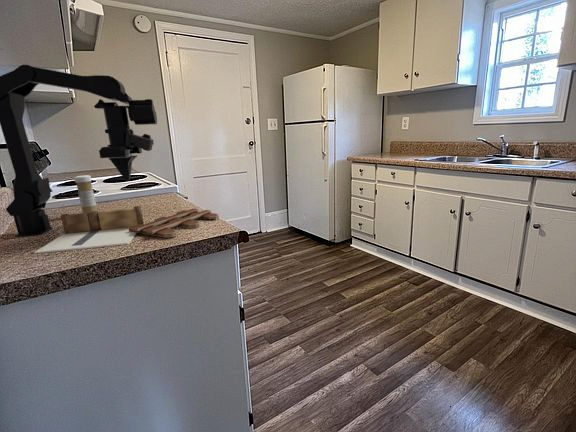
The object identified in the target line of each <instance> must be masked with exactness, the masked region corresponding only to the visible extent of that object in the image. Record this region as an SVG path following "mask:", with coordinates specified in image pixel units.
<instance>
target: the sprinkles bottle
mask: <svg viewBox="0 0 576 432" xmlns="http://www.w3.org/2000/svg"><path fill="white" fill-rule="evenodd" d="M74 182H75V183H76V188H77V191H78V193H77V194H78V197H79V202H80V207H81V211H82V213H88V212H93V211H98V210H97V209H98V208H97V203H96V202H97V201H96V198H95V197H96V196H95V193H94V189H93V185H92V177H91V175H90V174H89V175H78V176H74Z"/></svg>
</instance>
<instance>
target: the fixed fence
mask: <svg viewBox="0 0 576 432" xmlns="http://www.w3.org/2000/svg"><path fill="white" fill-rule="evenodd" d="M98 212H99V211H98V210H97V211H93V212H88V213H83V212H82V213H71V214H70V213H62V214H60V218H61V222H62V227H63V233H76V232H87V231H99V230H101V224H100V220H99V215H98Z"/></svg>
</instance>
